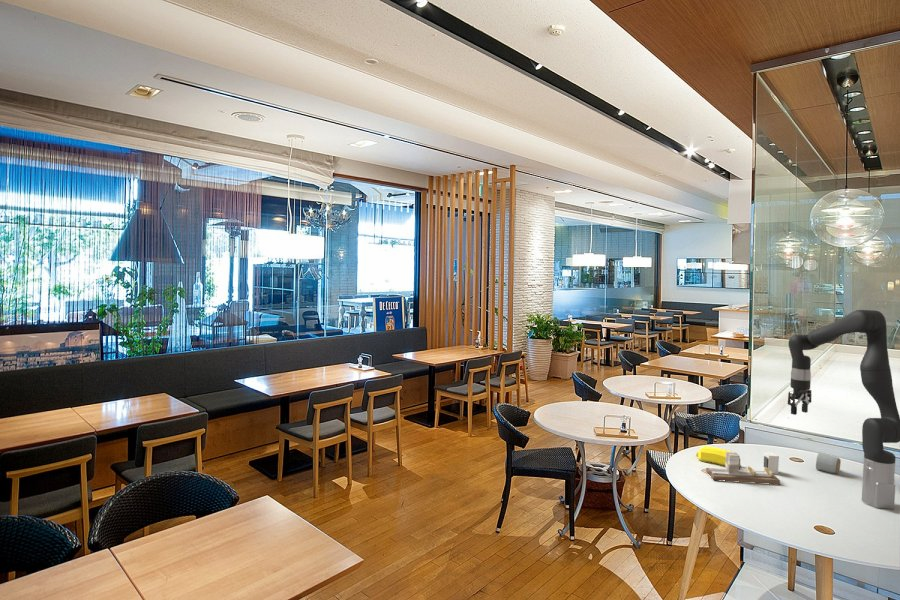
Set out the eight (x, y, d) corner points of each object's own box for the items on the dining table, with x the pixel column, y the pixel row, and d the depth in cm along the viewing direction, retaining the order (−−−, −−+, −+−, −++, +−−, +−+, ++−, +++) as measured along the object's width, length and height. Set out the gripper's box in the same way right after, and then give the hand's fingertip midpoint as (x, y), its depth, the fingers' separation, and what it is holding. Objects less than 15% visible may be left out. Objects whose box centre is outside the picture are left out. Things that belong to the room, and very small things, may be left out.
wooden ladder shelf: (779, 484, 214) (780, 459, 213) (713, 480, 218) (714, 456, 217) (769, 476, 223) (770, 452, 222) (706, 472, 227) (706, 448, 226)
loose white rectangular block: (778, 473, 225) (778, 456, 225) (767, 473, 226) (767, 455, 226) (773, 470, 229) (774, 452, 229) (762, 469, 230) (763, 452, 230)
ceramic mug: (837, 476, 223) (838, 459, 223) (815, 471, 229) (816, 454, 229) (841, 470, 231) (842, 453, 230) (819, 465, 237) (820, 448, 236)
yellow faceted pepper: (698, 456, 247) (693, 460, 241) (698, 442, 247) (694, 446, 241) (740, 465, 236) (736, 470, 230) (740, 451, 235) (737, 455, 230)
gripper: (800, 381, 227) (798, 417, 228) (818, 378, 233) (816, 413, 234) (782, 378, 234) (781, 413, 234) (801, 375, 240) (799, 409, 241)
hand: (799, 413), depth 234 cm, fingers open, 8 cm apart
